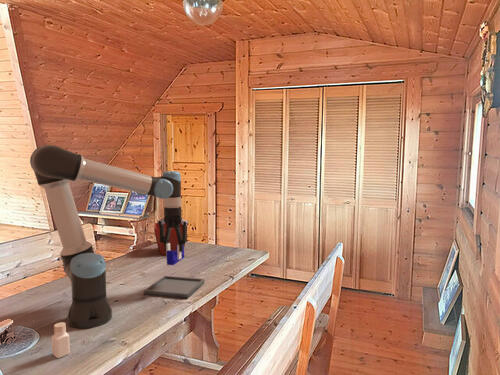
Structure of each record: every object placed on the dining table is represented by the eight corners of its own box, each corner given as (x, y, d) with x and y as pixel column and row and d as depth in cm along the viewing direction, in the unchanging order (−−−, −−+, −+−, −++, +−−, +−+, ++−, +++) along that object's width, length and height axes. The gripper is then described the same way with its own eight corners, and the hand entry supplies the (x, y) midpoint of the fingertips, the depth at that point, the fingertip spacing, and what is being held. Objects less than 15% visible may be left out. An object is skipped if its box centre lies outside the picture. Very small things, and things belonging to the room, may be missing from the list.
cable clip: (175, 257, 183) (174, 244, 182) (184, 257, 182) (183, 244, 181) (163, 264, 171) (163, 250, 171) (173, 265, 170) (173, 251, 170)
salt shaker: (57, 359, 118) (55, 328, 117) (51, 354, 121) (50, 324, 120) (70, 354, 121) (69, 324, 120) (65, 349, 124) (63, 320, 123)
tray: (187, 298, 165) (187, 294, 165) (144, 294, 170) (144, 290, 170) (204, 283, 185) (204, 279, 185) (164, 279, 189) (164, 275, 189)
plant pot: (154, 257, 229) (153, 228, 228) (155, 249, 248) (154, 222, 246) (187, 255, 233) (187, 227, 231) (186, 247, 252) (186, 221, 250)
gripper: (194, 205, 175) (195, 257, 178) (158, 204, 180) (159, 255, 182) (188, 208, 168) (189, 262, 171) (150, 207, 172) (151, 259, 175)
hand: (174, 258), depth 176 cm, fingers closed on cable clip, 4 cm apart
